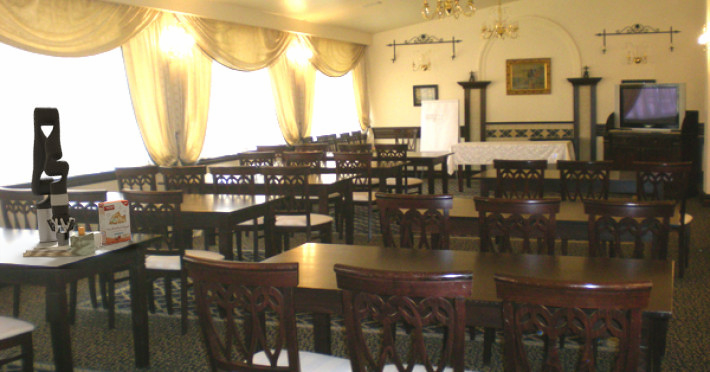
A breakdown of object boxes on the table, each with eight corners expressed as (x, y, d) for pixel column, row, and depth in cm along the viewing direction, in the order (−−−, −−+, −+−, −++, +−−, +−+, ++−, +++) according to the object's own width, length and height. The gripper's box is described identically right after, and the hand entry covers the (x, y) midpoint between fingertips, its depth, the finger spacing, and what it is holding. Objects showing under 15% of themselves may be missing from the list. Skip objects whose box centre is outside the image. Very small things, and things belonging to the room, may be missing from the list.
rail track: (23, 256, 299) (21, 237, 298) (36, 251, 309) (34, 233, 308) (83, 255, 295) (82, 236, 294) (95, 251, 305) (93, 232, 304)
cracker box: (107, 245, 319) (103, 203, 316) (100, 244, 322) (96, 202, 320) (131, 240, 330) (128, 199, 327) (125, 239, 333) (122, 199, 331)
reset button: (81, 237, 301) (80, 227, 301) (86, 237, 301) (85, 227, 301) (77, 238, 299) (76, 228, 298) (83, 238, 298) (82, 228, 298)
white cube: (97, 244, 322) (96, 230, 321) (105, 245, 317) (104, 231, 317) (84, 247, 316) (83, 233, 316) (92, 248, 312) (90, 234, 311)
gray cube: (50, 250, 298) (48, 234, 297) (61, 245, 306) (60, 230, 306) (66, 249, 297) (65, 233, 296) (77, 245, 305) (75, 230, 305)
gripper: (78, 202, 302) (81, 238, 304) (50, 202, 304) (53, 238, 306) (69, 204, 295) (72, 241, 297) (41, 205, 296) (44, 241, 298)
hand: (63, 239), depth 301 cm, fingers closed on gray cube, 3 cm apart
